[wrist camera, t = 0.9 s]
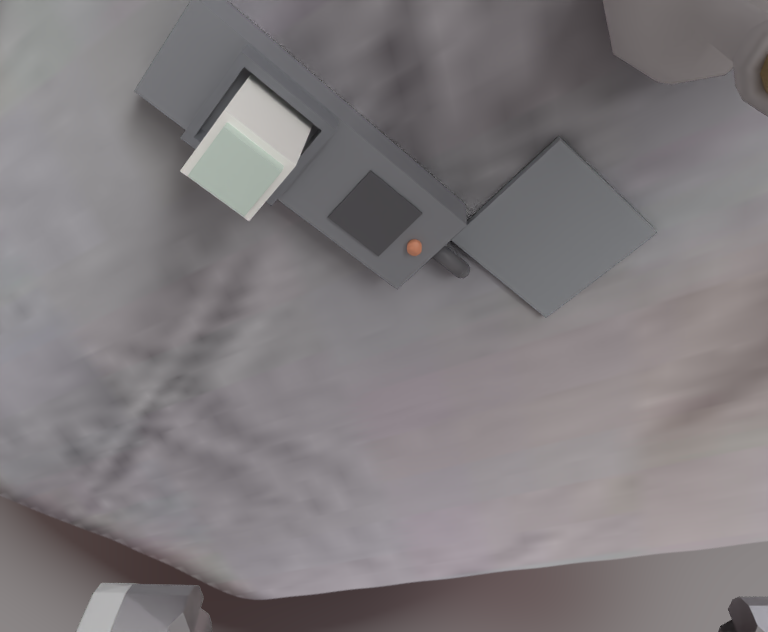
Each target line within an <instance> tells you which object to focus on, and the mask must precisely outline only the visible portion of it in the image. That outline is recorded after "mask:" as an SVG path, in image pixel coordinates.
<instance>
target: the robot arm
mask: <svg viewBox="0 0 768 632" xmlns="http://www.w3.org/2000/svg"><path fill="white" fill-rule="evenodd" d="M202 601H203V595H202V592H201V590H200V587H199V585H158V584H136V583H101V584H100V585H99V587H98V588H97V589H96V590H95V592H94V593H93V594H92V596H91V598H90V601H89V603H88V605H87V607H86V610H85V612H84V614H83V616H82V619H81V621H80V623H79V625H78V628H77V630H76V632H212V623H211V620H210V616H209V614H208V613H207V612H205V611H203V610H202V609H201V605H202ZM728 611H729V614H730V616H731V619H732V620H730V621H728V622H727V623H725V624H723V625H721V626H720V628H719V631H718V632H768V597H737V598H735V599H733V600H732V602H731V604H730V606H729V608H728Z"/></svg>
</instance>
